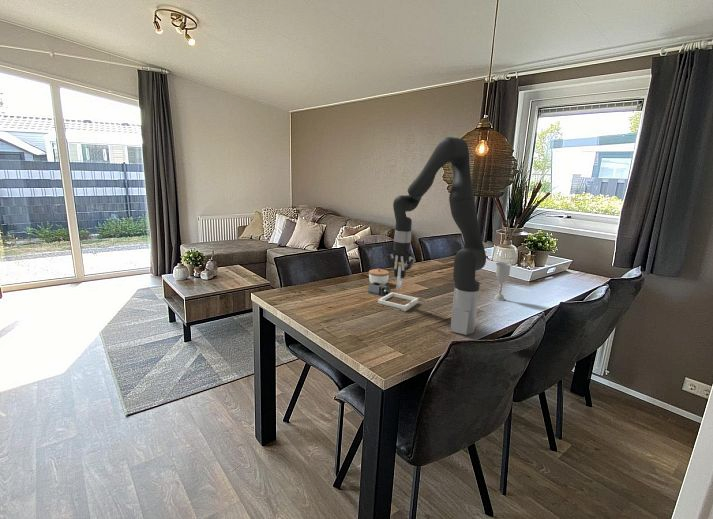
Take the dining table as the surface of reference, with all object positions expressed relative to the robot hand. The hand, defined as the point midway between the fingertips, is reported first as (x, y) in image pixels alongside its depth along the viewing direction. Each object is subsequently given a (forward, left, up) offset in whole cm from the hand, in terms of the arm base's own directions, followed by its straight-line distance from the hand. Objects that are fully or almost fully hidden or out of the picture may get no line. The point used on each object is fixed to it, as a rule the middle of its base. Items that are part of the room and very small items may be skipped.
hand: (399, 277), depth 173 cm
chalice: (+38, -38, -13) cm, 55 cm away
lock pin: (0, 0, -6) cm, 6 cm away
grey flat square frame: (0, 0, -13) cm, 13 cm away
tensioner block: (+7, +13, -13) cm, 20 cm away
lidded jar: (+20, +21, -13) cm, 32 cm away
